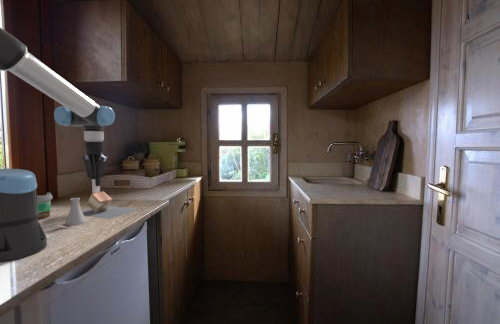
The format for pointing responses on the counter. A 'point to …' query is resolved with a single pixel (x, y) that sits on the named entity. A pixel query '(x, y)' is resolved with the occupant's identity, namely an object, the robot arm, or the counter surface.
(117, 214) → the rubber mat
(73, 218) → the flask
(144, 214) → the counter surface
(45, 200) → the food container
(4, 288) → the counter surface
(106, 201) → the birch cube
